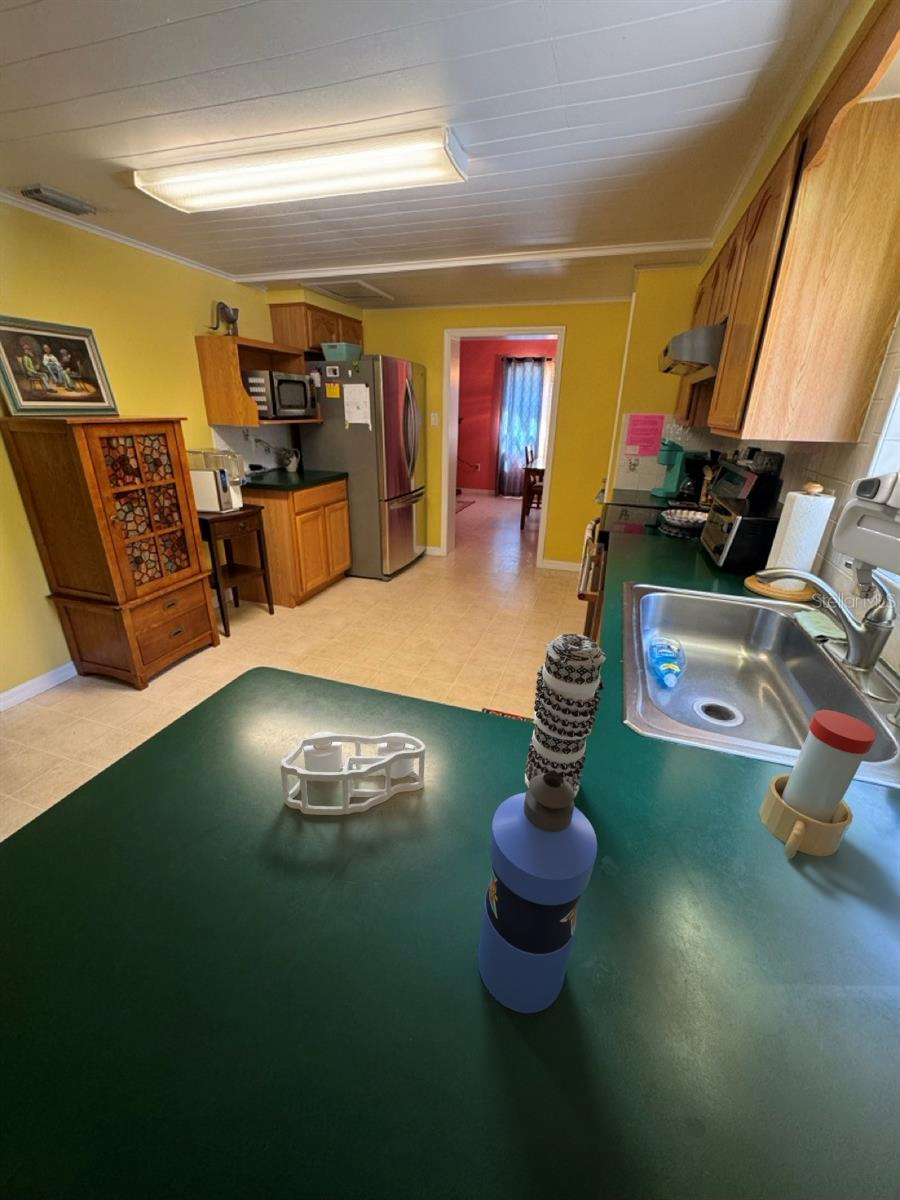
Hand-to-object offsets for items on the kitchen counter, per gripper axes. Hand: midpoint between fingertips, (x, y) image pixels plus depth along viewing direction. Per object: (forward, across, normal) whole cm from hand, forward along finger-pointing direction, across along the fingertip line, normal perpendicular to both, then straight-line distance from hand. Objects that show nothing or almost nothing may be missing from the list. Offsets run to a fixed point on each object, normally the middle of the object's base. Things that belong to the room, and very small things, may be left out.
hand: (893, 612), depth 56 cm
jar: (+34, -1, +1) cm, 34 cm away
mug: (+34, -2, +2) cm, 34 cm away
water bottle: (+34, -19, +44) cm, 59 cm away
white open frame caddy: (+33, +5, +65) cm, 73 cm away
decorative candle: (+34, +7, +35) cm, 49 cm away
